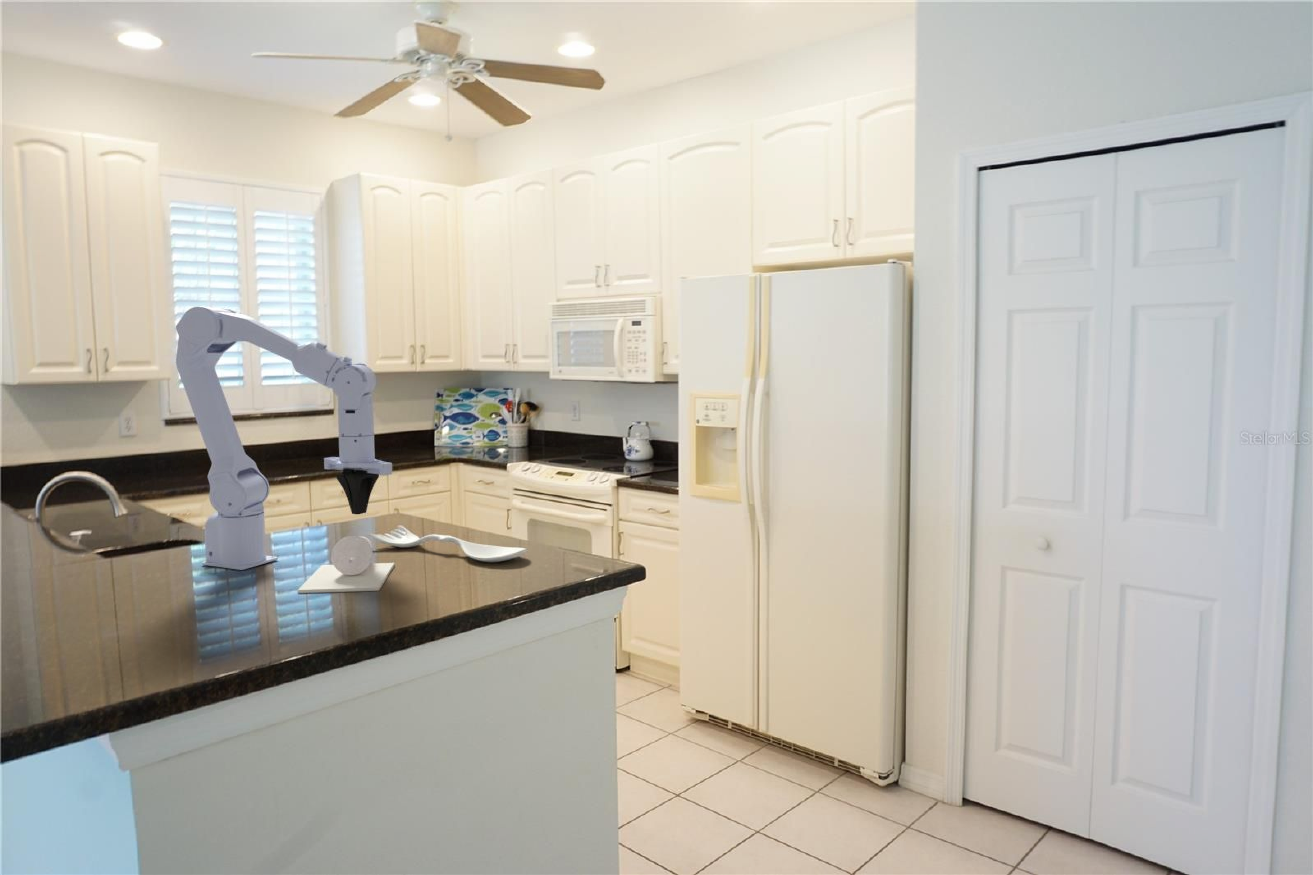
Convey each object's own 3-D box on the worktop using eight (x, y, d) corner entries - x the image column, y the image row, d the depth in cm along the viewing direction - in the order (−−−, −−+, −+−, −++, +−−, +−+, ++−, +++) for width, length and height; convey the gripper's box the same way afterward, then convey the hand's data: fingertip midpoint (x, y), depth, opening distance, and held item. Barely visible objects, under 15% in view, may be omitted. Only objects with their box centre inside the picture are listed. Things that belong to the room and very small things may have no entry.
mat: (321, 567, 146) (321, 565, 146) (394, 565, 148) (394, 562, 148) (297, 593, 132) (297, 590, 132) (378, 590, 133) (378, 587, 133)
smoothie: (375, 568, 149) (362, 584, 135) (337, 561, 148) (321, 576, 134) (384, 532, 149) (372, 544, 135) (346, 525, 148) (330, 536, 134)
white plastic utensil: (399, 540, 168) (399, 523, 168) (535, 559, 154) (535, 540, 154) (365, 550, 160) (364, 532, 160) (505, 571, 146) (505, 551, 146)
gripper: (308, 434, 147) (311, 512, 148) (368, 439, 140) (370, 521, 141) (341, 431, 153) (344, 506, 154) (400, 435, 146) (402, 514, 147)
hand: (359, 513), depth 148 cm, fingers closed
